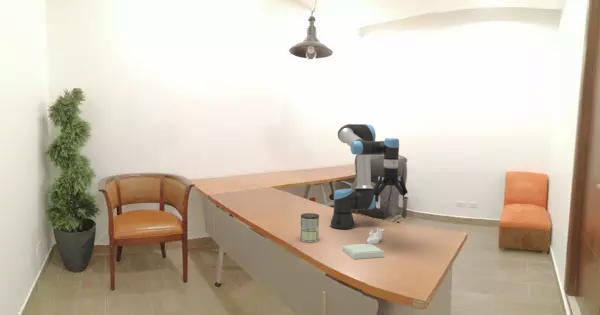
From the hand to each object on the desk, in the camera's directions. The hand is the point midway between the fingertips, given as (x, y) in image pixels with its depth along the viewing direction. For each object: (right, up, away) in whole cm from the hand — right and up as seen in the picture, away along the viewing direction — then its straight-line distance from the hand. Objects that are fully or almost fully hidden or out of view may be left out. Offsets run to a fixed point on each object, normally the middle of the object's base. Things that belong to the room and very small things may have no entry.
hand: (389, 207), depth 212 cm
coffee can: (-42, -20, +14) cm, 49 cm away
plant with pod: (-2, -17, +79) cm, 81 cm away
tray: (-16, -22, -10) cm, 29 cm away
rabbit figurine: (-5, -21, +8) cm, 23 cm away
